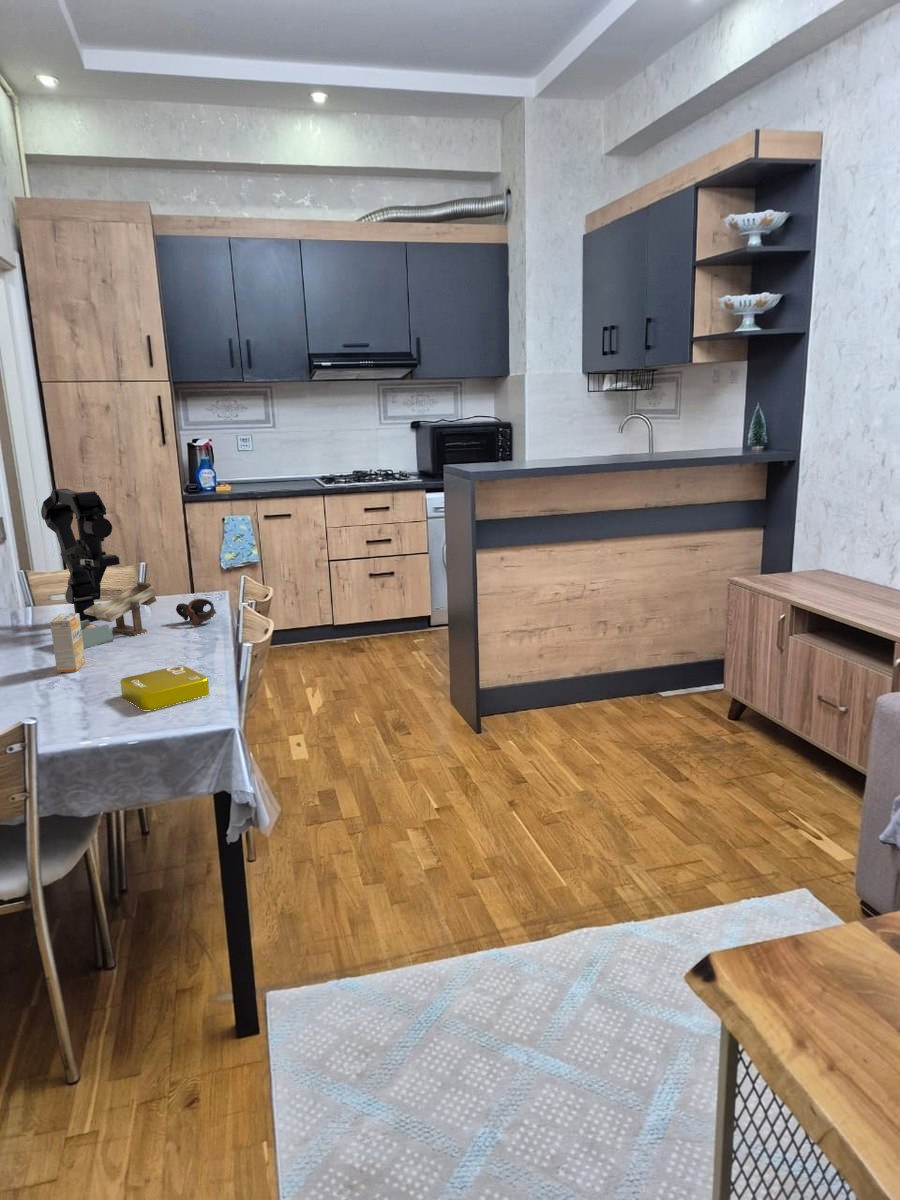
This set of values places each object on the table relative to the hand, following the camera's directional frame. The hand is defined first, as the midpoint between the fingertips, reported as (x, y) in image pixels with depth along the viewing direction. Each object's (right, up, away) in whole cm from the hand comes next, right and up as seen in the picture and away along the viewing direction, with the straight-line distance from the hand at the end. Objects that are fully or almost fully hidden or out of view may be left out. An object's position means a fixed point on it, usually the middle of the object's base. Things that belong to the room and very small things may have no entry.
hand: (96, 587), depth 235 cm
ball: (+5, -13, -14) cm, 19 cm away
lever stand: (+11, -13, -4) cm, 18 cm away
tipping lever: (+9, -7, -2) cm, 11 cm away
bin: (+3, -16, -15) cm, 22 cm away
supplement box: (+10, -21, -37) cm, 44 cm away
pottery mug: (+28, -11, +5) cm, 31 cm away
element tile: (+42, -25, -59) cm, 77 cm away
